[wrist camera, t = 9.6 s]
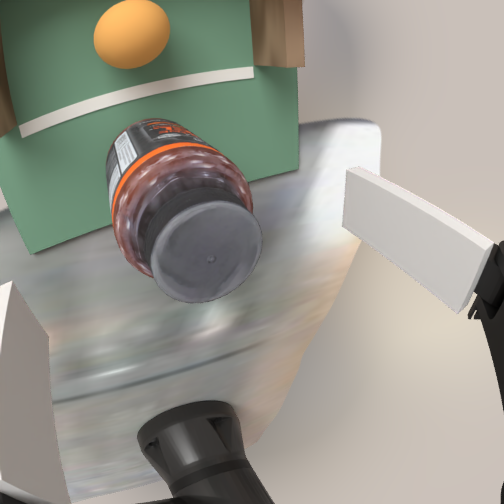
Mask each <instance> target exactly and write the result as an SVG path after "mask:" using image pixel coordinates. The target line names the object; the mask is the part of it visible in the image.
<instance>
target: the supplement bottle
mask: <svg viewBox="0 0 504 504" xmlns="http://www.w3.org/2000/svg"><path fill="white" fill-rule="evenodd" d="M106 180H107V188H108V196H109V203H110V210H111V217H112V224H113V228H114V233H115V237H116V240H117V243H118V245H119V248H120V250H121V252H122V253H123V255H124V256H125V258H126V259H127V261H128V262H129V263H130V264H131V265H132V266H133V267H135V268H136V269H137V270H139V271H140V272H142V273H143V274H145V275H147V276H149V277H152V278H154V279H155V281H156V283H157V285H158V286H159V288H161V289H162V290H163V291H164V292H165V293H166V294H167V295H168V296H170V297H172V298H173V299H176V300H178V301H181V302H186V303H203V302H209V301H213V300H215V299H218V298H221V297H222V296H225V295H227V294H228V293H230V292H231V291H233V290H235V289H236V288H237V287H238V286H240V285H241V284H242V283H243V282H244V281H245V280H246V279H247V277H248V276H249V275H250V274H251V273H252V271H253V270H254V268H255V266H256V264H257V262H258V259H259V258H260V254H261V250H262V242H263V241H262V231H261V228H260V225H259V223H258V221H257V220H256V218H255V217H254V215H253V202H252V194H251V191H250V188H249V185H248V183H247V180H246V179H245V177H244V175H243V173H242V172H241V171H240V170H239V168H238V167H237V166H236V165H235V164H234V163H233V162H232V161H231V160H230V159H228V158H227V157H226V156H224V155H223V154H222V153H221V152H219V151H218V150H217V149H215V148H214V147H213V146H211V145H209V144H208V143H206V142H205V141H203V140H202V139H201V138H199V137H197V136H196V135H195V134H194V133H192V132H190V131H189V130H188V129H186V128H184V127H183V126H181V125H180V124H178V123H176V122H174V121H170V120H167V119H161V118H150V119H144V120H141V121H138V122H135V123H133V124H131V125H130V126H128V127H127V128H125V129H124V130H123V131H122V132H121V133H120V134H119V135H118V136H117V137H116V139H115V140H114V141H113V143H112V145H111V147H110V149H109V151H108V155H107V159H106Z"/></svg>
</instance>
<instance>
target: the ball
mask: <svg viewBox="0 0 504 504" xmlns="http://www.w3.org/2000/svg"><path fill="white" fill-rule="evenodd" d="M169 35H170V23H169V19H168V17H167V15H166V13H165V12H164V10H163V9H162V8H161V7H160V6H158V5H157V4H155V3H153V2H151V1H148V0H125V1H122V2H120V3H118V4H116V5H114V6H112V7H111V8H110V9H108V10H107V11H106V12H105V13H104V14H103V15H102V17H101V18H100V19H99V21H98V23H97V25H96V28H95V31H94V46H95V50H96V52H97V54H98V55H99V57H100V58H101V59H102V60H103V61H104V62H105V63H107V64H109V65H111V66H113V67H116V68H121V69H132V68H137V67H141V66H143V65H145V64H147V63H149V62H151V61H152V60H154V59H155V58H156V57H157V56H158V55H159V54H160V53H161V52H162V51H163V49H164V48H165V46H166V44H167V42H168V39H169Z"/></svg>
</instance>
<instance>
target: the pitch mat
mask: <svg viewBox="0 0 504 504" xmlns="http://www.w3.org/2000/svg"><path fill="white" fill-rule="evenodd" d="M122 1H125V0H0V23H1V35H2V44H3V53H4V60H5V67H6V73H7V79H8V84H9V90H10V95H11V100H12V104H13V109H14V113H15V117H16V121H17V125H16V126H15V127H14V128H13V129H11V130H10V131H9V132H8V133H6V134H5V135H4V136H3V137H1V138H0V187H1V189H2V192H3V195H4V197H5V200H6V202H7V205H8V207H9V210H10V212H11V214H12V217H13V219H14V221H15V223H16V226H17V228H18V230H19V232H20V234H21V237H22V239H23V241H24V243H25V245H26V247H27V249H28V251H29V253H30V255H31V254H34V253H36V252H38V251H41V250H43V249H46V248H48V247H51V246H53V245H56V244H59V243H61V242H64V241H66V240H69V239H72V238H74V237H77V236H80V235H82V234H85V233H88V232H90V231H93V230H96V229H99V228H101V227H104V226H107V225H110V224H112V217H111V210H110V203H109V196H108V188H107V180H106V159H107V155H108V151H109V149H110V147H111V145H112V143H113V141H114V140H115V139H116V137H117V136H118V135H119V134H120V133H121V132H122V131H123V130H124V129H125V128H127V127H128V126H130V125H131V124H133V123H135V122H138V121H141V120H144V119H150V118H161V119H167V120H170V121H174V122H176V123H178V124H180V125H181V126H183V127H184V128H186V129H188V130H189V131H190V132H192V133H194V134H195V135H196V136H197V137H199V138H201V139H202V140H203V141H205V142H206V143H208V144H209V145H211V146H213V147H214V148H215V149H217V150H218V151H219V152H221V153H222V154H223V155H224V156H226V157H227V158H228V159H230V160H231V161H232V162H233V163H234V164H235V165H236V166H237V167H238V168H239V170H240V171H241V172H242V173H243V175H244V177H245V179H246V180H247V182H249V181H253V180H256V179H260V178H264V177H268V176H272V175H276V174H280V173H284V172H288V171H292V170H296V169H299V143H298V85H297V84H298V83H297V67H290V68H286V67H275V66H261V65H254V62H253V48H252V34H251V20H250V6H249V0H148V1H151V2H153V3H155V4H157V5H158V6H160V7H161V8H162V9H163V10H164V12H165V13H166V15H167V17H168V19H169V23H170V35H169V39H168V42H167V44H166V46H165V48H164V49H163V51H162V52H161V53H160V54H159V55H158V56H157V57H156V58H155V59H154V60H152V61H151V62H149V63H147V64H145V65H143V66H141V67H137V68H132V69H121V68H116V67H113V66H111V65H109V64H107V63H105V62H104V61H103V60H102V59H101V58H100V57H99V55H98V54H97V52H96V50H95V46H94V31H95V28H96V25H97V23H98V21H99V19H100V18H101V17H102V15H103V14H104V13H105V12H106V11H107V10H108V9H110V8H111V7H112V6H114V5H116V4H118V3H120V2H122Z"/></svg>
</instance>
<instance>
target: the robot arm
mask: <svg viewBox="0 0 504 504" xmlns="http://www.w3.org/2000/svg"><path fill="white" fill-rule="evenodd" d="M342 227H344V228H345V229H347V230H348V231H350V232H351V233H352V234H354V235H355V236H357V237H358V238H359V239H361V240H362V241H364V242H365V243H366V244H368V245H369V246H371V247H372V248H373V249H375V250H376V251H378V252H379V253H380V254H382V255H383V256H384V257H386V258H387V259H388V260H390V261H391V262H392V263H394V264H395V265H396V266H398V267H399V268H400V269H401V270H403V271H404V272H405V273H407V274H408V275H409V276H411V277H412V278H413V279H415V280H416V281H417V282H418V283H420V284H421V285H422V286H423V287H425V288H426V289H427V290H428V291H430V292H431V293H432V294H433V295H435V296H436V297H438V298H439V299H440V300H441V301H442V302H444V303H445V304H446V305H447V306H448V307H449V308H451V309H452V310H453V311H454V312H456V313H457V314H458V313H459V312H460V311H461V310H462V309H464V308H465V307H466V306H467V304H468V303H469V300H470V298H471V296H472V294H473V292H475V293H476V294H477V297H476V299H475V301H474V303H473V305H472V307H471V309H470V311H469V313H468V319H471V317H472V315H473V314H474V312H475V310H477V312H476V314H475V315H474V319H481V322H482V325H483V328H484V331H485V335H486V338H487V341H488V345H489V348H490V352H491V356H492V360H493V363H494V367H495V372H496V376H497V380H498V385H499V389H500V394H501V399H502V405H503V410H504V241H501V242H500V243H499V246H498V245H496V244H495V243H494V242H493V241H491V240H490V239H488V238H486V237H485V236H484V235H482V234H480V233H479V232H478V231H476V230H474V229H473V228H471V227H470V226H468V225H466V224H465V223H463V222H462V221H460V220H458V219H457V218H455V217H453V216H452V215H450V214H448V213H447V212H445V211H443V210H441V209H440V208H438V207H436V206H434V205H433V204H431V203H429V202H427V201H426V200H424V199H422V198H420V197H418V196H416V195H415V194H413V193H411V192H409V191H407V190H405V189H404V188H402V187H400V186H398V185H396V184H394V183H392V182H390V181H388V180H386V179H384V178H382V177H380V176H378V175H376V174H374V173H372V172H370V171H368V170H366V169H363V168H361V167H355V168H351V169H347V170H346V184H345V197H344V210H343V221H342ZM137 439H138V442H139V445H140V448H141V451H142V453H143V455H144V456H145V457H146V459H147V460H148V461H149V462H150V464H151V465H152V466H153V467H154V469H155V470H156V471H157V472H158V473H159V475H160V476H161V477H162V478H163V479H164V480H165V482H166V483H167V485H168V487H169V489H170V491H171V493H172V495H173V498H170V499H163V500H157V501H152V502H146V503H138V504H275V503H274V502H273V500H272V499H271V498H270V496H269V494H268V492H267V491H266V489H265V488H264V486H263V485H262V483H261V481H260V480H259V478H258V477H257V475H256V473H255V472H254V470H253V468H252V467H251V465H250V463H249V461H248V460H247V458H246V455H245V451H244V445H243V440H242V434H241V428H240V422H239V419H238V417H237V415H236V413H235V412H234V410H233V408H232V407H231V406H230V405H229V404H227V403H224V402H219V401H204V402H197V403H192V404H187V405H183V406H180V407H177V408H174V409H171V410H169V411H166V412H164V413H162V414H160V415H158V416H156V417H154V418H153V419H151V420H150V421H148V422H147V423H146V424H145V425H144V426H143V427H142V428H141V429H140V430H139V432H138V435H137ZM0 504H71V501H70V497H69V494H68V490H67V486H66V482H65V478H64V473H63V469H62V464H61V459H60V454H59V448H58V442H57V436H56V430H55V423H54V415H53V406H52V396H51V384H50V368H49V336H48V335H47V333H46V332H45V331H44V329H43V328H42V326H41V325H40V323H39V322H38V320H37V319H36V318H35V316H34V315H33V313H32V311H31V310H30V308H29V307H28V305H27V304H26V302H25V301H24V299H23V297H22V296H21V294H20V292H19V291H18V289H17V287H16V286H15V284H14V282H13V281H10V282H8V283H6V284H3V285H1V286H0ZM501 504H504V483H503V486H502V489H501Z"/></svg>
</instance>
